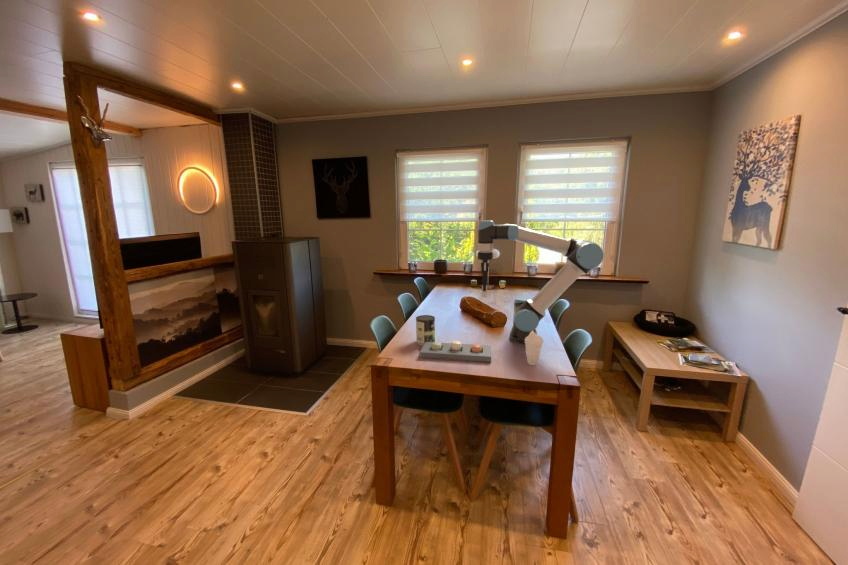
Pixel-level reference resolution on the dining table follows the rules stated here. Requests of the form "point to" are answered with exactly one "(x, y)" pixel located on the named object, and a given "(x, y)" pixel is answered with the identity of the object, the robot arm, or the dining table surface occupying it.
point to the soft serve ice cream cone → (533, 347)
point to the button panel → (456, 353)
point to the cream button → (455, 346)
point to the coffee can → (425, 329)
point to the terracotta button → (476, 348)
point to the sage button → (436, 346)
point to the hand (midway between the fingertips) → (484, 296)
